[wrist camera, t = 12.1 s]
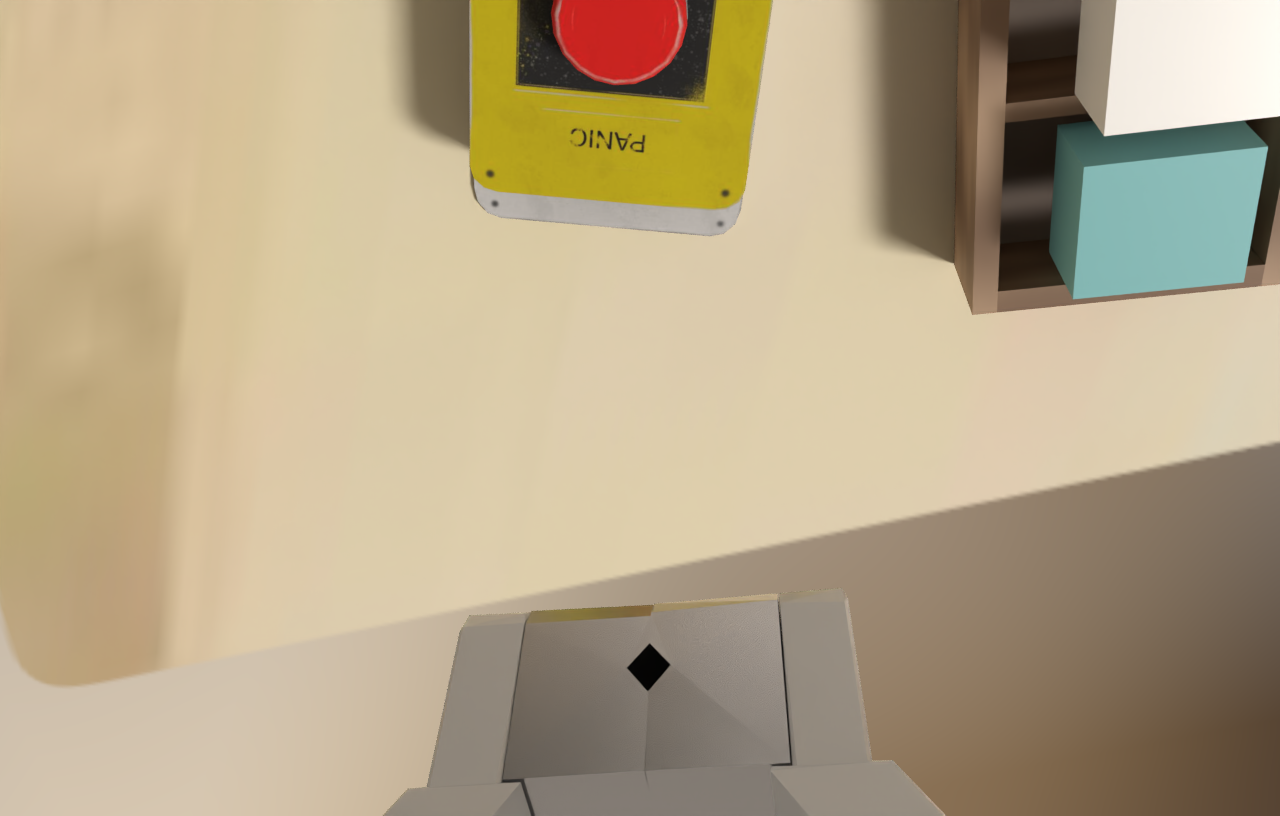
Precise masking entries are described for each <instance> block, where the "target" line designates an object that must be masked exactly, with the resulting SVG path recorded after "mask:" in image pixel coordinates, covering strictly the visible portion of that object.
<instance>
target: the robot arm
mask: <svg viewBox="0 0 1280 816" xmlns="http://www.w3.org/2000/svg"><path fill="white" fill-rule="evenodd" d="M779 607H780V612H779ZM780 618H781V621H780ZM781 629H782V631H781ZM782 640H783V641H782ZM383 816H946V815H945V814H944V813H943V812H942V811H941V810H940V809H939V808H938V807H937V806H936V805H935V804H934V803H933V802H932V801H931V800H930V799H929V797H927V795H926V794H925V793H924V792H923V791H922V790H921V789H920V788H919V787H918V786H917V785H916V784H915V783H914V782H913V781H912V780H911V779H910V778H909V777H908V776H907V775H906V774H905V773H904V772H903V771H902V770H901V769H900V768H899V767H898V766H897V765H896V763H895V762H894V761H893V760H892V761H891V760H889V761H872V757H871V750H870V743H869V737H868V731H867V724H866V717H865V710H864V703H863V697H862V690H861V683H860V677H859V670H858V663H857V656H856V650H855V643H854V637H853V630H852V623H851V617H850V610H849V603H848V597H847V595H846V594H845V592H844V591H843V589H842V588H836V589H824V590H813V591H800V592H788V593H780V597H779V604H778V595H777V594H766V595H754V596H741V597H730V598H718V599H706V600H695V601H683V602H671V603H658V604H654V605H643V606H624V607H605V608H604V607H603V608H582V609H562V610H542V611H531V612H529V613H507V614H486V615H470V616H469V617H468V619H467V620H466V622H465V624H464V625H463V627H462V629H461V630H460V633H459V637H458V642H457V647H456V652H455V656H454V661H453V666H452V670H451V675H450V680H449V685H448V689H447V694H446V699H445V703H444V709H443V713H442V718H441V722H440V727H439V732H438V737H437V741H436V746H435V750H434V755H433V760H432V765H431V769H430V774H429V778H428V783H427V787H422V788H410V789H407V790H406V791H405V792H404V793H403V794H402V795H401V797H400V798H399V799H398V800H397V801H396V802H395V803H394V804H393V805H392V806H391V807H390V808H389V809H388V811H387V812H386V813H385V814H384V815H383Z"/></svg>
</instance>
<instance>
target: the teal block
mask: <svg viewBox="0 0 1280 816" xmlns="http://www.w3.org/2000/svg"><path fill="white" fill-rule="evenodd" d="M1267 151H1268V146H1267V145H1266V144H1265V143H1264V141H1263V140H1262V139H1261V138H1260V137H1259V136H1258V135H1257V134H1256V133H1255V132H1254V131H1253V130H1252V129H1251V128H1250V127H1249V126H1248V125H1247V124H1246V122H1245V121H1244V120H1242V121H1233V122H1224V123H1216V124H1207V125H1198V126H1189V127H1181V128H1172V129H1163V130H1154V131H1146V132H1137V133H1128V134H1119V135H1110V136H1103V134H1102V133H1101V131H1100V130H1099V128H1098V127H1097V125H1096V124H1095V122H1094V121H1087V122H1078V123H1070V124H1061V125H1058V128H1057V142H1056V157H1055V171H1054V186H1053V200H1052V215H1051V229H1050V244H1049V253H1050V255H1051V257H1052V259H1053V261H1054V263H1055V265H1056V267H1057V269H1058V271H1059V273H1060V275H1061V277H1062V279H1063V281H1064V283H1065V285H1066V287H1067V289H1068V291H1069V293H1070V295H1071V297H1072V299H1082V298H1092V297H1102V296H1112V295H1122V294H1132V293H1142V292H1152V291H1162V290H1172V289H1182V288H1192V287H1202V286H1212V285H1222V284H1232V283H1242V282H1244V278H1245V273H1246V267H1247V262H1248V256H1249V251H1250V245H1251V240H1252V234H1253V228H1254V223H1255V217H1256V212H1257V206H1258V201H1259V195H1260V190H1261V184H1262V178H1263V173H1264V167H1265V162H1266V156H1267Z"/></svg>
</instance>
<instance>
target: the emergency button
mask: <svg viewBox="0 0 1280 816" xmlns="http://www.w3.org/2000/svg"><path fill="white" fill-rule="evenodd" d="M772 4H773V0H469V59H470V168H471V172H472V175H473V178H474V189H475V193H476V197H477V201H478V202H479V203H480V205H481V206H482V207H483V208H484V209H485V210H486V211H487V213H490V214H492V215H495V216H498V217H501V218H510V219H522V220H533V221H544V222H556V223H567V224H578V225H590V226H601V227H612V228H624V229H635V230H646V231H657V232H669V233H680V234H691V235H703V236H713V235H719V234H724V233H725V232H726V231H727V230H729V229H730V228H731V227H732V226H733V225H735V223H736V220H737V218H738V215H739V213H740V211H741V204H742V198H743V193H744V191H745V186H746V179H747V173H748V166H749V159H750V152H751V146H752V139H753V132H754V125H755V119H756V112H757V105H758V98H759V92H760V85H761V78H762V71H763V64H764V58H765V51H766V44H767V37H768V31H769V24H770V17H771V10H772Z"/></svg>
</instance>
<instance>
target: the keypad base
mask: <svg viewBox="0 0 1280 816" xmlns="http://www.w3.org/2000/svg"><path fill="white" fill-rule="evenodd" d="M1081 3H1082V0H958V59H957V121H956V182H955V244H954V265H955V268H956V271H957V274H958V276H959V279H960V282H961V285H962V287H963V290H964V293H965V296H966V298H967V301H968V304H969V307H970V309H971V312H972V315H975V314H985V313H995V312H1005V311H1015V310H1025V309H1035V308H1045V307H1056V306H1066V305H1076V304H1086V303H1096V302H1106V301H1116V300H1126V299H1136V298H1146V297H1156V296H1166V295H1176V294H1186V293H1196V292H1206V291H1216V290H1226V289H1236V288H1246V287H1257V286H1267V285H1277V284H1280V116H1277V117H1268V118H1260V119H1251V120H1244V121H1245V122H1246V124H1247V125H1248V126H1249V127H1250V128H1251V129H1252V130H1253V131H1254V132H1255V133H1256V134H1257V135H1258V136H1259V137H1260V138H1261V139H1262V140H1263V141H1264V143H1265V144H1266V145H1267V146H1268V151H1267V156H1266V162H1265V167H1264V173H1263V178H1262V184H1261V190H1260V195H1259V201H1258V206H1257V212H1256V217H1255V223H1254V228H1253V234H1252V240H1251V245H1250V251H1249V256H1248V262H1247V267H1246V273H1245V278H1244V282H1242V283H1232V284H1222V285H1212V286H1202V287H1192V288H1182V289H1172V290H1162V291H1152V292H1142V293H1132V294H1122V295H1112V296H1102V297H1092V298H1082V299H1072V297H1071V295H1070V293H1069V291H1068V289H1067V287H1066V285H1065V283H1064V281H1063V279H1062V277H1061V275H1060V273H1059V271H1058V269H1057V267H1056V265H1055V263H1054V261H1053V259H1052V257H1051V255H1050V253H1049V244H1050V229H1051V215H1052V200H1053V186H1054V171H1055V157H1056V142H1057V128H1058V125H1061V124H1070V123H1078V122H1087V121H1093V120H1092V118H1091V117H1090V115H1089V114H1088V112H1087V111H1086V109H1085V108H1084V107H1083V105H1082V104H1081V102H1080V101H1079V99H1078V98H1077V96H1076V95H1075V81H1076V68H1077V55H1078V42H1079V29H1080V16H1081Z"/></svg>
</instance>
